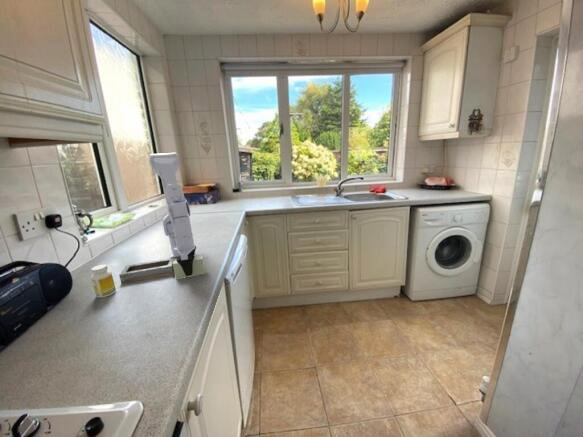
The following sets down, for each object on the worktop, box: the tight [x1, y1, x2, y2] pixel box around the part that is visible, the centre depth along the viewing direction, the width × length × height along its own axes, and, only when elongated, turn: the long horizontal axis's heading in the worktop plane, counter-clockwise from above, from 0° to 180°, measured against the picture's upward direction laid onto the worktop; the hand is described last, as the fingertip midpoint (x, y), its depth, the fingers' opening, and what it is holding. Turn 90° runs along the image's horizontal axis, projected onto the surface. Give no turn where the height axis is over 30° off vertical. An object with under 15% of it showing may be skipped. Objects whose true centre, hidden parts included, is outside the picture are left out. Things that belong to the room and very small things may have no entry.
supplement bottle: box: [90, 264, 117, 299], centre depth 82 cm, size 5×5×10 cm
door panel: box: [173, 255, 206, 280], centre depth 92 cm, size 3×10×6 cm, turn 106°
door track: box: [119, 257, 176, 284], centre depth 95 cm, size 8×17×3 cm, turn 106°
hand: (190, 270), depth 92 cm, fingers open, 7 cm apart
